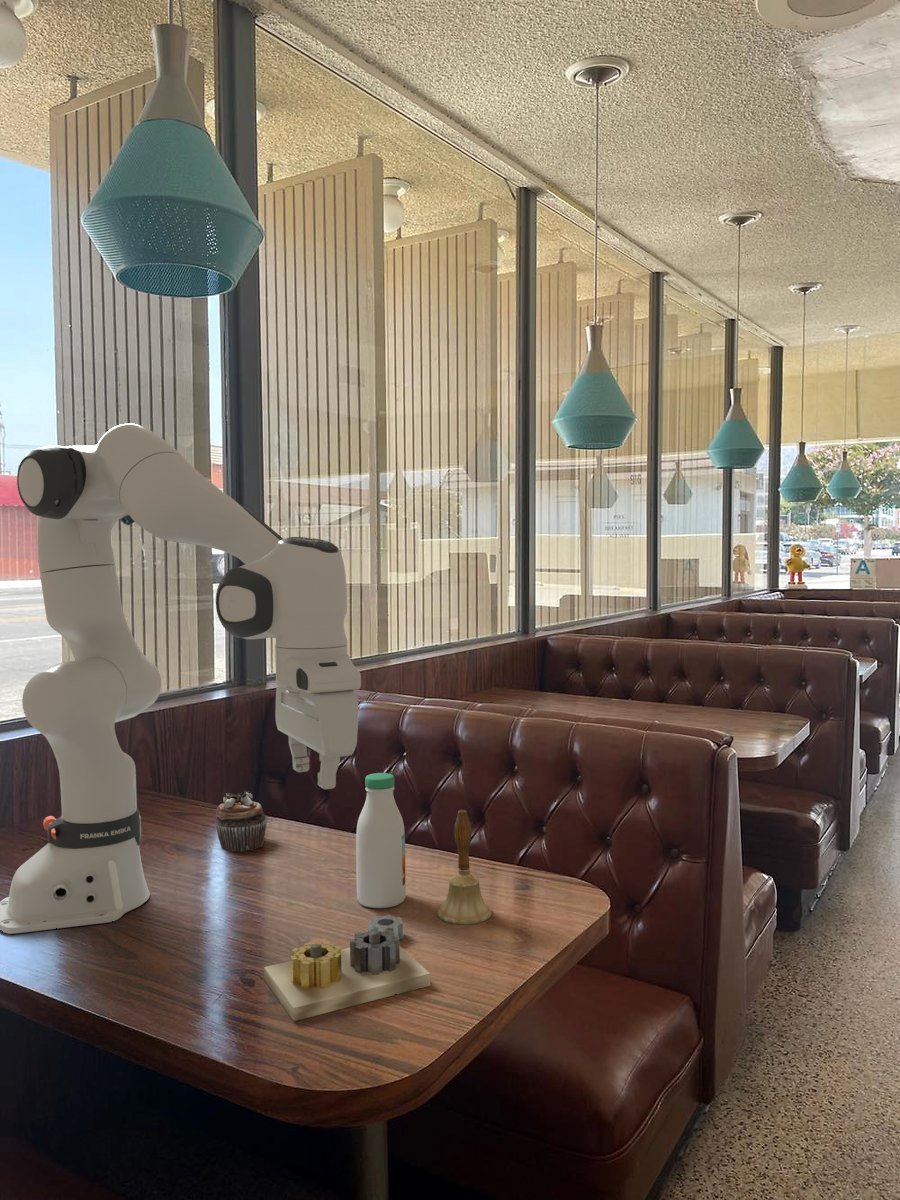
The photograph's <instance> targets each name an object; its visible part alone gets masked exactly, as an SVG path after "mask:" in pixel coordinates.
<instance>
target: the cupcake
mask: <svg viewBox="0 0 900 1200" xmlns="http://www.w3.org/2000/svg"><path fill="white" fill-rule="evenodd" d="M253 797H254V796H253V794H252V792H251V791H250V790H246V789H244V791H242V792H240V793H234V794H233V793H230V792H225V793H224V796H223V799H222V800H223V801H222V803H220V804H219V805H218V807H216V810H215V814H216V816H215V818H214V825H215V830H216V832H217V837H218V841H219V844H220V847H221V849H222V850H223V849H224V851H226V852H234V851H239V852H246V850H249V851H252V850H251V849H253V850H256V849H255V848H257V849H259V848H261V847H262V846H263V844H264V843H265V834H266V828H267V823H268V817H267V815H266V814H265V813H264V811H263V807H262V805H261V803H259V802H256V801H253ZM261 845H262V846H261ZM260 846H261V847H260ZM258 847H259V848H258Z"/></svg>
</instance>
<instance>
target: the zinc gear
mask: <svg viewBox="0 0 900 1200" xmlns="http://www.w3.org/2000/svg"><path fill="white" fill-rule="evenodd" d="M392 915H393V914H386V915H385V916H379V915H378V916H374V917H373V919H372V920H371V919H370V920H368V922H367V932H368V931H371V929H378V931H381V932H382V931H385V932H386V931H388V930H390V931H392V932H394V935H395V937H398V936H399V940H403V939H404V935H405V934H404V932H405V931H404V930H405V929H404V928H405V927H404V926H405V925H404V923H405V922H404V921H402V920H403V919H402V918H401V917H400V916H397V917H396V916H392Z"/></svg>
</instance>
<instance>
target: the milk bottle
mask: <svg viewBox="0 0 900 1200" xmlns="http://www.w3.org/2000/svg"><path fill="white" fill-rule="evenodd" d="M395 781H396V780H395V775H393V774H392V773H388V772H375V773H370V774H368V775H366V776H365V780H364V783H365V791H366V797H365V802H364V805H363V807H362V810H361V812H360V814H359V817H358V820H357V825H356V839H355V841H356V842H355V844H356V845H355V847H356V849H355V851H356V854H355V856H356V857H355V858H356V870H355V871H356V872H355V873H356V874H355V875H356V899H357V901H358V904H360V905H361V906H363V907H366V908H371V909H372V908H373V909H387V908H393V907H396V906H399V905H400V904H402V903H403V902H404V901H405V898H406V886H407V885H406V839H405V838H406V837H405V836H406V835H405V826H404V820H403V816H402V815H401V812H400V810H399V808H398V806H397V803H396V800H395V797H394V790H395Z"/></svg>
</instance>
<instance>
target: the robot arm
mask: <svg viewBox="0 0 900 1200" xmlns="http://www.w3.org/2000/svg"><path fill="white" fill-rule="evenodd" d="M16 485H17V491H18V495H19V497H20V500H21V501H22V503H23V505H24V506H25V507H26V509H27V510H28V511H29V512H30V513H32V515H35V516H38V520H37V521H38V522H37V542H36V543H37V544H36V545H37V561H38V570H39V574H40V575H39V576H40V577H39V578H40V583H41V590H42V591H41V592H42V597H43V604H44V610H45V615H46V617H45V619H46V621H47V623H48V625H49V626H50V627H51V628H52V629H53V630H54V632H57V633H58V634H60V635H61V637H62V638H63V639H64V640H65V641H66V643H67V644H68V646H69V648H70V650H71V653H72V655H73V658H74V660H70V661H64V662H61V663H57V664H55V665H52V666H50V667H48V668H46V669H44V670H42V671H40V672H38V673H37V674H35V675H34V676H33V677H30V679H29V680H28V682H27V683H26V685H25V687H24V689H23V693H22V698H21V700H22V701H21V702H22V703H21V704H22V709H23V714H24V716H25V718H26V720H27V722H28V724H29V725H30V726H31V727H33V728H34V730H36V731H37V732H39V734H41V735H43V737H45V739H46V740H47V742H48V743H49V745H50V747H51V750H52V751H53V755H54V757H55V759H56V763H57V768H58V773H59V783H60V797H61V798H60V803H61V816H59V817H57V818H55V816H53V815H49V816H46V817H45V818H44V819H43V822H42V824H43V828H44V830H45V831H47V839H48V843H47V844H45V845H44V846H43V847H42V848H41V849H40V850H38V851H37V852H36V853H35V854H34V855H32V856H31V857H30V858H29V859H28V860H26V861H25V862H23V863H22V864H21V865H20V866H19V867H18V868H17V869H16V871H15V873H14V875H13V877H12V880H11V884H10V886H9V887H10V888H9V892H8V893H9V895H8V896H6V897H5V898H3V899H1V901H0V930H2V931H3V933H5V934H10V935H11V934H23V933H30V932H39V931H46V930H54V929H56V928H57V929H64V928H65V929H66V928H72V927H79V926H80V927H81V926H82V927H83V926H89V925H90V926H91V925H97V924H107V923H112V921H113V922H115V921H117V920H119V919H120V918H122V917H123V916H124V914H126V913H128V912H130V911H132V910H134V909H136V908H139V907H140V906H142V905H143V904H144V903H145V902H147V900H149V899H150V896H151V893H150V890H149V887H148V885H147V884H148V883H147V881H146V878H145V874H144V870H143V864H142V858H141V853H140V845H141V839H142V825H141V824H142V822H141V815H140V810H139V809H138V807H137V805H138V804H137V803H138V802H137V774H136V773H137V771H136V764H135V760H134V759H133V758H132V757H131V756H130V755H129V754H128V753H126V752H124V751H123V750H122V748H121V746H120V743H119V741H118V738H117V734H116V729H115V728H116V727H115V724H116V723H118V722H121V721H122V722H123V721H127V720H128V719H131V718H135V717H137V716H138V715H140V714H141V713H142V712H144V711H145V710H147V709H148V708H149V707H151V706H152V705H153V704H155V702H156V701H157V700H158V698H159V696H160V693H161V690H162V678H161V674H160V671H159V669H158V668H157V666H156V664H155V663H154V662H153V661H152V660H151V659H150V658H148V657H147V656H146V655H145V654H144V653H143V652H142V651H141V648H140V647H139V645H138V644H137V641H136V640H135V638H134V635H133V634H132V632H131V629H130V627H129V623H128V622H127V619H126V617H125V613H124V609H123V606H122V598H121V593H120V587H119V582H118V581H119V580H118V575H117V568H116V561H115V555H114V552H113V547H112V539H111V534H112V530H113V528H114V526H115V524H116V523H117V522H118V521H120V522H121V523H123V524H125V525H126V526H131V525H132V524H134V523H136V524H137V526H139V527H140V528H142V529H143V530H144V531H146V532H147V533H149V534H151V535H152V536H153V537H155V538H157V539H160V540H164V541H168V542H172V543H179V544H180V543H181V544H186V545H187V544H188V545H195V546H200V547H205V548H209V549H214V550H217V551H222V552H225V553H227V554H230V555H231V556H234V557H235V558H237V559H239V560H240V561H241V562H242V563H243V565H241V566H238V567H237V566H236V567H232V568H231V569H229V570H228V571H227V572H226V573H225V574H224V576H223V577H222V578H221V579H220V581H219V584H218V586H217V589H216V593H215V609H216V614H217V618H218V619H219V622H220V624H221V625H222V627H223V628H224V629H225V630H226V631H227V632H228V633H229V634H230V635H231V636H233V637H234V638H237V639H243V640H244V639H245V640H259V639H260V640H261V639H275V646H274V647H275V683H276V689H275V690H276V691H275V724H276V727H277V731H279V732H281V733H283V734H285V735H286V736H288V747H289V749H290V752H291V753H290V754H291V756H292V769H293V770H294V771H296V773H303V772H304V773H306V772H308V771H309V770H310V757H309V756H308V748H309V749H312V750H313V751H315V752H316V753H318V754H319V757H318V759H319V762H320V768H319V769H320V770H319V772H317V785H318V786H319V787H320V788H322V790H331V789H334V788H335V787H336V785H337V781H336V780H337V772H338V769H339V766H340V762H341V758H342V757H348V756H349V757H350V756H352V755H353V754H354V752H355V750H356V747H357V744H358V730H359V729H358V728H359V701H358V695H357V693H356V691H357V690H360V689H361V687H362V675H361V672H360V671H359V669H358V668H357V667H356V666H355V665H354V664H353V662H352V659H351V657H350V655H349V654H348V639H347V636H346V631H345V618H346V616H347V612H348V611H347V610H348V600H347V599H348V597H347V596H348V593H347V592H348V590H347V578H346V577H347V576H346V569H345V564H344V563H345V562H344V559H343V556H342V553H341V550H340V549H339V547H338V546H337V545H336V544H334V543H332V542H330V541H328V540H324V539H319V538H315V537H314V538H313V537H310V538H309V537H307V536H290V537H286V538H285V537H284V538H283V537H282V536H281V535H279V534H278V533H277V532H276V531H275V529H273V528H271V527H270V526H269V525H268V524H267V523H266V522H264V521H263V520H262V519H261V518H259V517H258V516H257V515H256V514H254V512H252V511H251V510H249V509H248V508H247V507H245V506H243V505H242V503H239V502H238V501H237V500H235V499H233V498H232V497H231V496H229V495H228V494H227V493H226V492H224V491H222V490H221V489H219V488H218V487H217V486H216V485H215V484H213V482H211V481H210V480H209V479H208V478H206V477H205V476H204V475H203V473H202V474H201V472H199V470H197V469H196V468H195V467H194V466H193V465H192V464H191V463H190V462H188V460H187V459H186V458H185V457H184V456H183V455H182V454H181V453H180V451H178V450H177V449H175V447H174V446H172V444H170V443H168V442H167V441H166V440H165V439H163V438H162V437H161V436H160V435H158V434H156V433H155V432H154V431H152V430H150V429H148V428H146V427H145V426H142V425H140V424H137V423H136V424H135V423H124V424H119V425H116V426H114V427H112V428H110V429H109V430H108V431H106V432H105V433H104V434H103V435H102V436H101V438H100V439H99V441H98V443H97V444H91V445H72V446H71V445H69V446H63V445H58V444H57V445H55V444H53V445H47V446H42V447H37V448H34V449H32V450H30V451H28V452H27V453H26V454H25V456H24V457H23V459H22V460H21V461H20V463H19V465H18V469H17V475H16ZM307 747H308V748H307ZM2 931H1V932H2Z"/></svg>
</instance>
